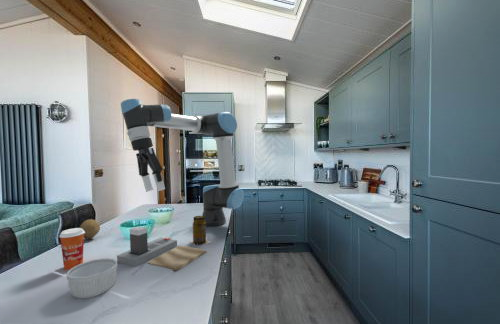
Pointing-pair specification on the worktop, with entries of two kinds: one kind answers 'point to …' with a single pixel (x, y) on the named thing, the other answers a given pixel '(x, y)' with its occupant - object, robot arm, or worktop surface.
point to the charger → (138, 240)
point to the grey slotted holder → (154, 250)
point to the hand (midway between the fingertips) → (155, 190)
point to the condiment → (199, 231)
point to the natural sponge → (90, 228)
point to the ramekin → (92, 277)
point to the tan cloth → (177, 257)
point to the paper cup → (72, 247)
